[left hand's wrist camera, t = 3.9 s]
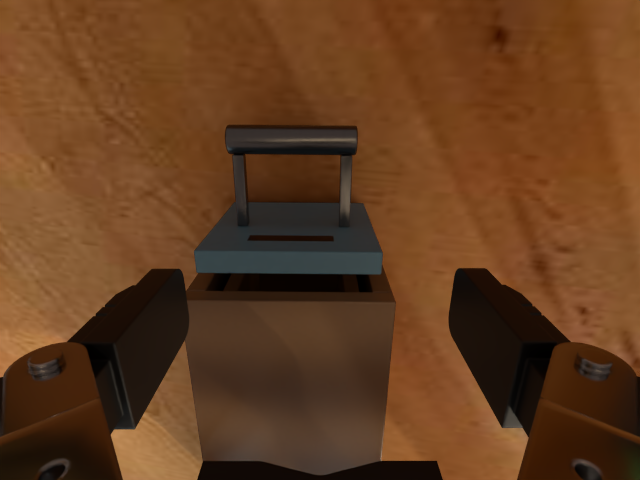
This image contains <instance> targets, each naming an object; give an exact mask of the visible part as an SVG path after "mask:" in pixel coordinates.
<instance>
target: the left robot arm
mask: <svg viewBox="0 0 640 480" xmlns="http://www.w3.org/2000/svg"><path fill="white" fill-rule="evenodd" d="M188 329H189V311H188V304H187V297H186V291H185V284H184V277H183V274H182V271H181V270H180V269H151V270H150V271H149V272H148V273H147V274H146V275H145V276H144V277H143V278H142V279H141V280H140V281H139V282H138V283H137V284H136V285H132V286H131V287H129V288H127V289H125V290H123V291H121V292H120V293H118V294H116V295H115V296H114V297H113V298H112V299H111V300H110V301H109V302H108V303H107V304H106V305H105V307H102V308H101V309H100V310H99V311H98V312H97V313H96V316H93V317H92V318H91V319H90V320H89V321H88V322H87V323H86V324H85V325H84V326H83V327H82V328H81V329H80V330H79V331H78V332H77V333H76V334H75V335H74V336H73V337H71V338H70V339H69V340H68V341H67V342H63V343H56V344H52V345H48V346H45V347H42V348H39V349H36V350H34V351H32V352H30V353H28V354H26V355H24V356H22V357H21V358H19V359H18V360H17V361H15V362H14V363H13V364H12V365H11V366H9V368H8V369H7V370H6V372H5V374H4V376H3V377H1V378H0V480H123V479H122V475H121V471H120V468H119V464H118V460H117V457H116V453H115V449H114V446H113V442H112V439H111V433H112V432H113V430H114V429H135V428H136V426H137V424H138V423H139V421H140V419H141V417H142V416H143V414H144V412H145V410H146V408H147V407H148V405H149V403H150V401H151V399H152V398H153V396H154V394H155V392H156V390H157V389H158V387H159V385H160V383H161V381H162V380H163V378H164V376H165V374H166V372H167V371H168V369H169V367H170V365H171V363H172V362H173V360H174V358H175V356H176V355H177V353H178V351H179V349H180V347H181V346H182V344H183V342H184V340H185V338H186V336H187V333H188ZM449 329H450V333H451V336H452V338H453V340H454V341H455V343H456V345H457V347H458V349H459V350H460V352H461V354H462V356H463V358H464V360H465V361H466V363H467V365H468V367H469V369H470V370H471V372H472V374H473V376H474V378H475V379H476V381H477V383H478V385H479V387H480V389H481V390H482V392H483V394H484V396H485V398H486V399H487V401H488V403H489V405H490V407H491V409H492V410H493V412H494V414H495V416H496V418H497V419H498V421H499V423H500V425H501V427H502V428H523V429H524V431H525V432H526V434H527V435H528V437H529V439H528V442H527V446H526V449H525V453H524V457H523V460H522V464H521V468H520V471H519V475H518V479H517V480H640V377H637V376H636V374H635V372H634V370H633V369H632V368H631V366H629V365H628V364H627V363H626V362H625V361H623V360H622V359H621V358H619V357H618V356H616V355H614V354H612V353H610V352H608V351H606V350H604V349H601V348H598V347H595V346H592V345H588V344H584V343H577V342H570V341H569V340H568V339H567V338H566V337H565V336H564V335H563V334H562V333H561V332H560V331H559V330H558V329H557V328H556V327H555V326H554V325H553V324H552V323H551V322H550V321H549V320H548V319H547V318H546V317H545V316H542V315H541V312H540V311H539V310H538V309H537V308H536V307H535V306H532V304H531V303H530V302H529V301H528V300H527V299H526V298H525V297H524V296H523V295H522V294H521V293H519V292H517V291H515V290H514V289H512V288H510V287H508V286H506V285H502V284H501V283H500V282H499V281H498V280H497V279H496V278H495V277H494V276H493V275H492V274H491V273H490V272H489V271H488V270H487V269H485V268H459V269H457V271H456V273H455V276H454V283H453V290H452V297H451V303H450V310H449ZM197 480H443V479H442V476H441V473H440V470H439V467H438V463H437V461H377V462H373V463H369V464H366V465H362V466H358V467H354V468H350V469H346V470H342V471H338V472H334V473H330V474H326V475H314V474H310V473H306V472H302V471H298V470H294V469H290V468H286V467H282V466H278V465H274V464H271V463H267V462H263V461H203V463H202V467H201V470H200V473H199V476H198V479H197Z"/></svg>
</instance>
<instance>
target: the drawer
mask: <svg viewBox="0 0 640 480" xmlns="http://www.w3.org/2000/svg"><path fill="white" fill-rule="evenodd" d="M225 143H226V148H227V151H228V153H229V154H233V155H232V158H233V172H234V185H235V198H236V202H234V203H233V205H232V206H231V207H230V208H229V209H228V211H227V212H226V213H225V214H224V216H223V217H222V218H221V219H220V220H219V222H218V223H217V224H216V225H215V226H214V228H213V229H212V230H211V231H210V232H209V234H208V235H207V236H206V237H205V238H204V240H203V241H202V242H201V243H200V244H199V246H198V247H197V248H196V249H195V251H194V255H195V263H196V271H197V273H232V274H231V276H230V278H229V280H228V282H227V284H226V286H225V288H224V290H223V291H271V292H359V287H358V281H357V276H356V274H378V275H380V274H381V271H382V257H383V253H382V250H381V248H380V245H379V242H378V240H377V237H376V235H375V232H374V230H373V227H372V225H371V222H370V219H369V217H368V214H367V212H366V209H365V207H364V204H363V203H351V179H352V155H356V152H357V143H358V131H357V126H317V125H227V127H226V131H225ZM245 154H281V155H340V190H339V203H281V202H248V188H247V172H246V157H245Z"/></svg>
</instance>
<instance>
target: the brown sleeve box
mask: <svg viewBox="0 0 640 480" xmlns="http://www.w3.org/2000/svg"><path fill="white" fill-rule="evenodd" d="M231 274H232V273H198V275H197V276H196V278H195V279H194V281H193V282H192V283H191V285H190V286H189V288H188V289H187V291H186V297H187V304H188V311H189V329H188V333H187V336H186V338H185V342H186V349H187V356H188V363H189V369H190V376H191V383H192V390H193V397H194V403H195V410H196V417H197V424H198V431H199V437H200V444H201V451H202V458H203V461H263V462H267V463H271V464H274V465H278V466H282V467H286V468H290V469H294V470H298V471H302V472H306V473H310V474H314V475H326V474H330V473H334V472H338V471H342V470H346V469H350V468H354V467H358V466H362V465H366V464H369V463H373V462H377V461H381V457H382V446H383V435H384V425H385V414H386V403H387V392H388V382H389V371H390V360H391V349H392V339H393V328H394V317H395V306H396V302H395V299H394V296H393V294H392V291H391V288H390V285H389V282H388V280H387V277H386V274H385V271H384V268H383V266H382V271H381V274H380V275H378V274H356V276H357V281H358V287H359V292H271V291H223V290H224V288H225V286H226V284H227V282H228V280H229V278H230V276H231Z"/></svg>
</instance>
